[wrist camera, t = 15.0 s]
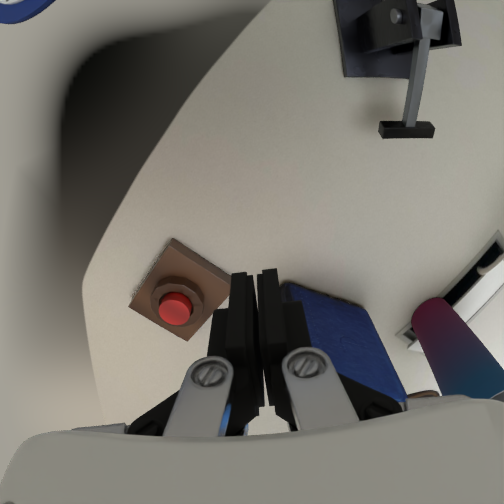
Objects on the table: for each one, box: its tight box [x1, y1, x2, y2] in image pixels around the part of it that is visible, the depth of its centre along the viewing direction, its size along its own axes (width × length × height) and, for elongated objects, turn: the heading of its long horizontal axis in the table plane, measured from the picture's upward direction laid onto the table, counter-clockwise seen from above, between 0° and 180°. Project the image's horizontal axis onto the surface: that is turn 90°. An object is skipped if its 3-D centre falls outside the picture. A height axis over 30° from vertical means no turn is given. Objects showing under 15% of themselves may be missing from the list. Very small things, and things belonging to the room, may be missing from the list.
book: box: [279, 283, 408, 402], centre depth 37 cm, size 14×5×20 cm, turn 68°
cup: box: [411, 298, 504, 402], centre depth 38 cm, size 10×10×22 cm
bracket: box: [333, 0, 462, 79], centre depth 23 cm, size 10×9×14 cm
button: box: [159, 292, 192, 325], centre depth 40 cm, size 4×4×2 cm
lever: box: [378, 3, 443, 139], centre depth 23 cm, size 14×6×2 cm, turn 7°
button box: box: [129, 239, 231, 341], centre depth 42 cm, size 12×10×4 cm
